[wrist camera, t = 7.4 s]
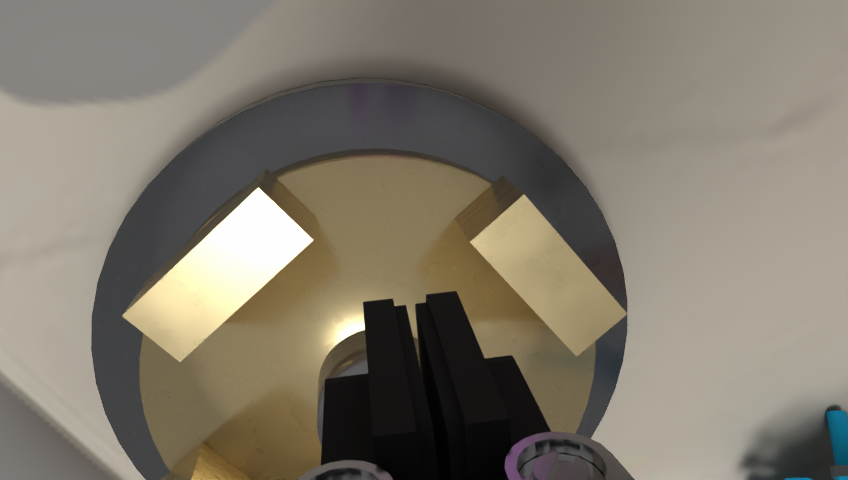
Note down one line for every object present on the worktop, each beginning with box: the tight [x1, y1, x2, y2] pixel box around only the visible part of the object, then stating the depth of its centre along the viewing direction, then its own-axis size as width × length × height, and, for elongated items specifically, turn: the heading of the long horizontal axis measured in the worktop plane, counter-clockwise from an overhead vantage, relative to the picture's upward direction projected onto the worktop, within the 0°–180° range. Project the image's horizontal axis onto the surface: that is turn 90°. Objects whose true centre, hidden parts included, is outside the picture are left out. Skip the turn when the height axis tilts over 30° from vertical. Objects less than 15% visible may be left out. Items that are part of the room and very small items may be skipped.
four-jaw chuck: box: [122, 148, 627, 480], centre depth 27 cm, size 19×19×5 cm
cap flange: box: [91, 78, 627, 480], centre depth 31 cm, size 24×24×3 cm
